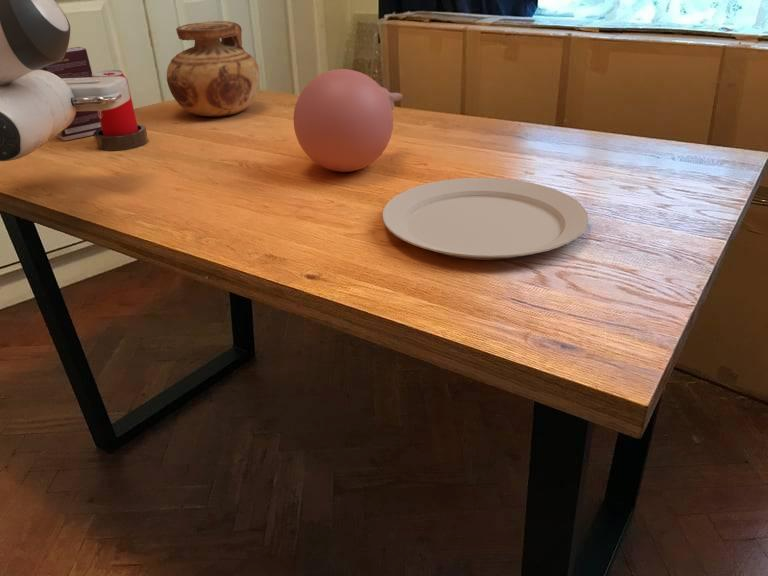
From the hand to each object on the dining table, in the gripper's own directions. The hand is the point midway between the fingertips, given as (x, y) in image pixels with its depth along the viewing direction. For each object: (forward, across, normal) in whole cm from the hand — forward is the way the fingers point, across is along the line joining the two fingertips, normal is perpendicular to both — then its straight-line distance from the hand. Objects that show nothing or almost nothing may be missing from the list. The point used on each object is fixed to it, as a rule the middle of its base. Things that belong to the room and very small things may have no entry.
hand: (74, 83), depth 105 cm
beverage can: (+14, -1, +13) cm, 19 cm away
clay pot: (+35, -15, +14) cm, 40 cm away
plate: (-34, -60, +14) cm, 70 cm away
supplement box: (+21, +9, +14) cm, 27 cm away
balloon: (-7, -44, +14) cm, 47 cm away
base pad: (+14, -1, +14) cm, 19 cm away
